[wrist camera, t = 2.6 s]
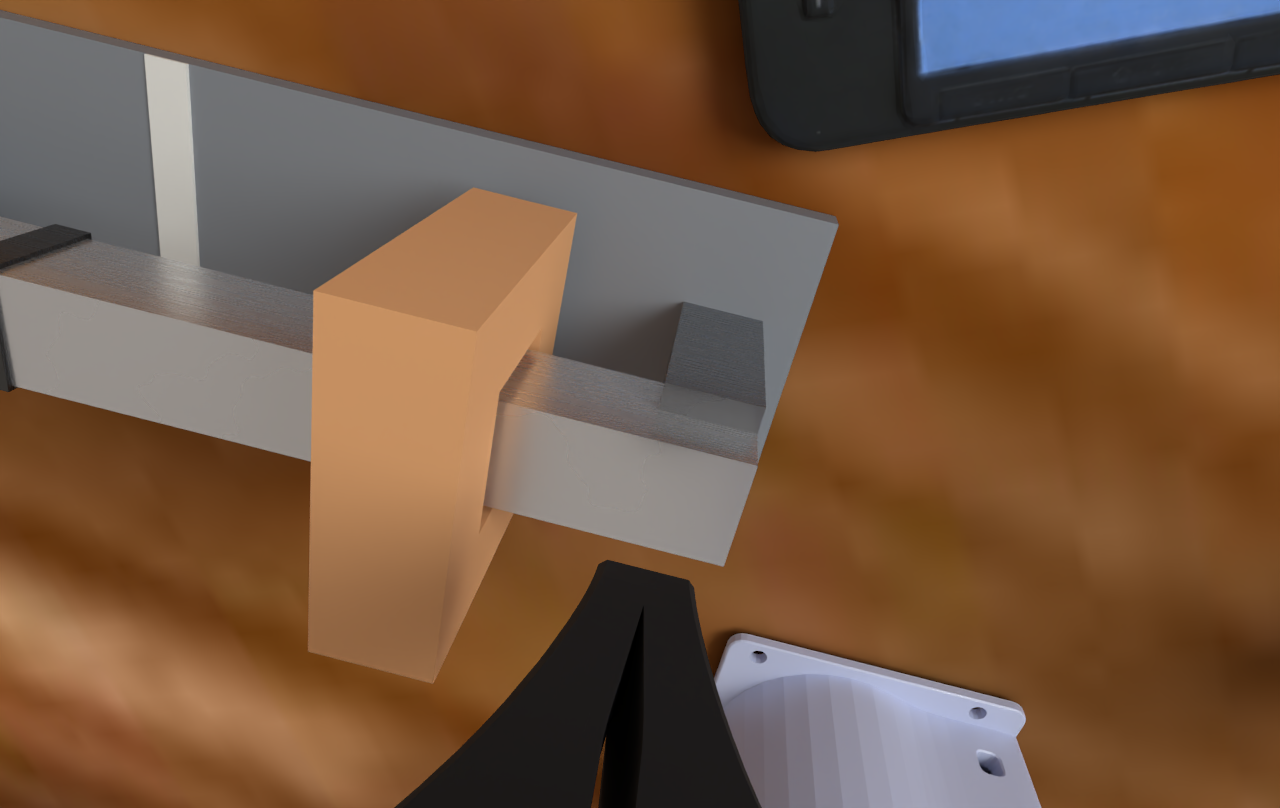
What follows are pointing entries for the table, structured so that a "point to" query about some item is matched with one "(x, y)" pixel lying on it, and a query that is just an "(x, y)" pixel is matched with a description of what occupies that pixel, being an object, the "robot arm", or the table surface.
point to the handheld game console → (983, 60)
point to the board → (376, 193)
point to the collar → (420, 422)
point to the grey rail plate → (282, 388)
